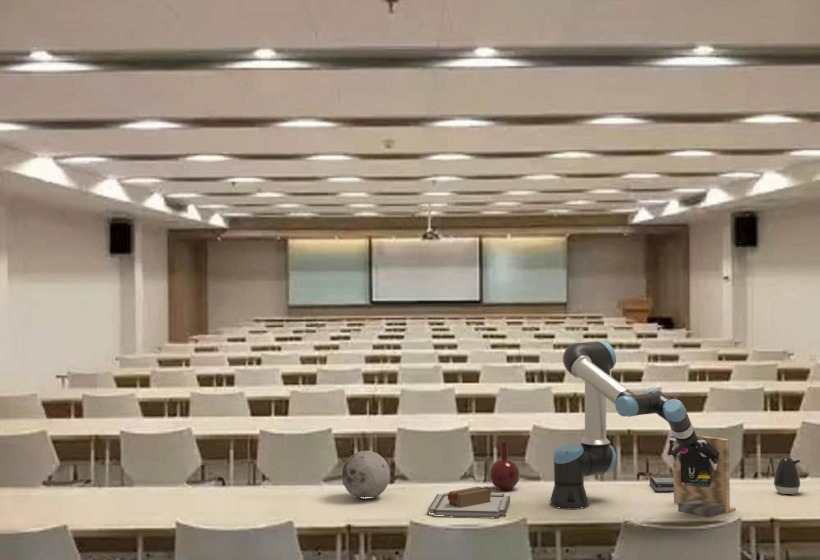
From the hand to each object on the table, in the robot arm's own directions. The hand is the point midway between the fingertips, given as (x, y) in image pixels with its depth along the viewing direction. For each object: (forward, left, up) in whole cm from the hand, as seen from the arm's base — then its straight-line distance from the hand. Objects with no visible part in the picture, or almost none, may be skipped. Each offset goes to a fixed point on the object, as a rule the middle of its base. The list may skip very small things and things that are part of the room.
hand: (698, 465), depth 386 cm
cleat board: (-4, +4, -18) cm, 19 cm away
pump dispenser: (+7, +52, -18) cm, 56 cm away
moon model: (-110, -77, -18) cm, 135 cm away
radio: (-30, +31, -18) cm, 47 cm away
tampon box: (+1, -2, -7) cm, 7 cm away
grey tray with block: (-67, -58, -19) cm, 90 cm away
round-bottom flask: (-81, -24, -18) cm, 86 cm away
